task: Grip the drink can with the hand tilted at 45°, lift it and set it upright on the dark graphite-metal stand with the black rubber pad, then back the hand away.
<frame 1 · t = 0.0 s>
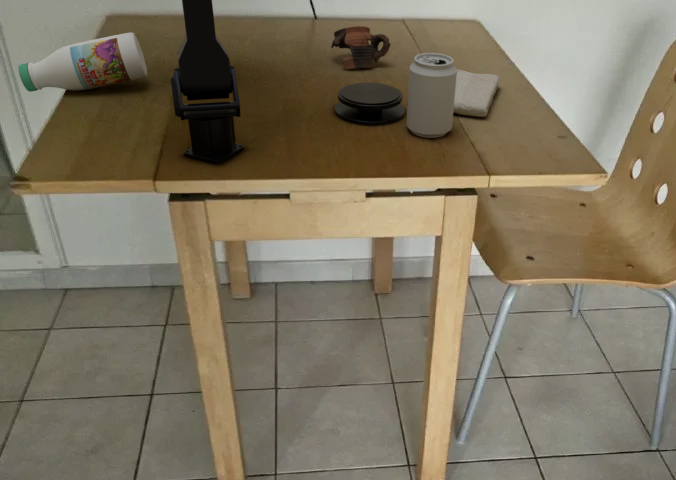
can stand: (369, 111, 123), on the table
milk bottle: (142, 54, 125), point 6 cm above the table
washcloth: (461, 100, 130), on the table
pottery mug: (360, 64, 144), on the table
can: (428, 131, 117), on the table
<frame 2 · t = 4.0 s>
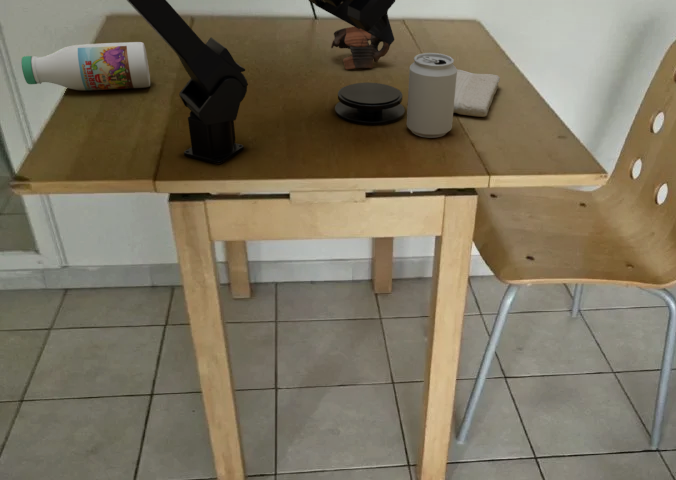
hand: (376, 34, 112), 14 cm above the table, tool tilted 40°, fingers open, 9 cm apart
milk bottle: (148, 64, 126), point 4 cm above the table
everything else where it was.
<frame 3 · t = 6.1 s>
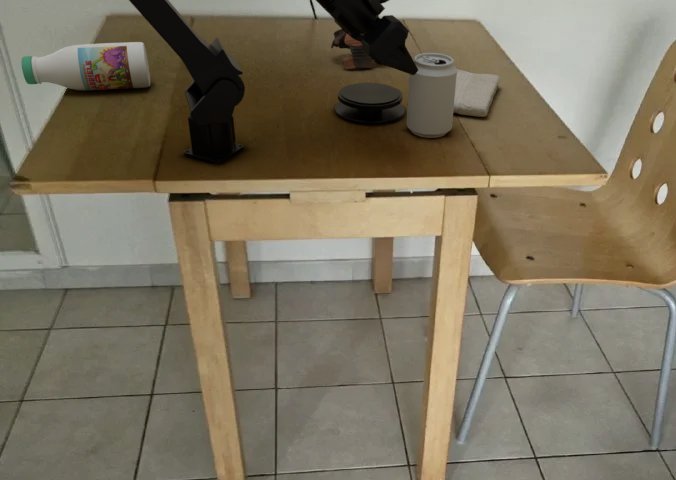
hand: (405, 62, 109), 12 cm above the table, tool tilted 45°, fingers open, 9 cm apart
nothing on the table moved.
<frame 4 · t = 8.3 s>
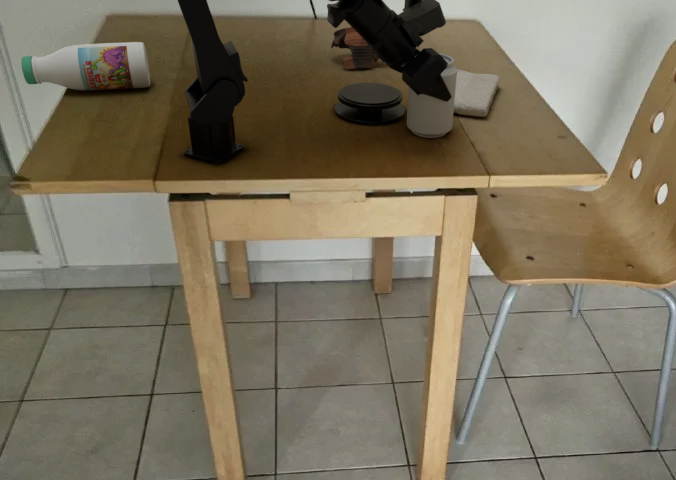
hand: (439, 90, 114), 7 cm above the table, tool tilted 45°, fingers closed on can, 7 cm apart
can: (428, 131, 117), on the table, touching gripper
everything else where it was.
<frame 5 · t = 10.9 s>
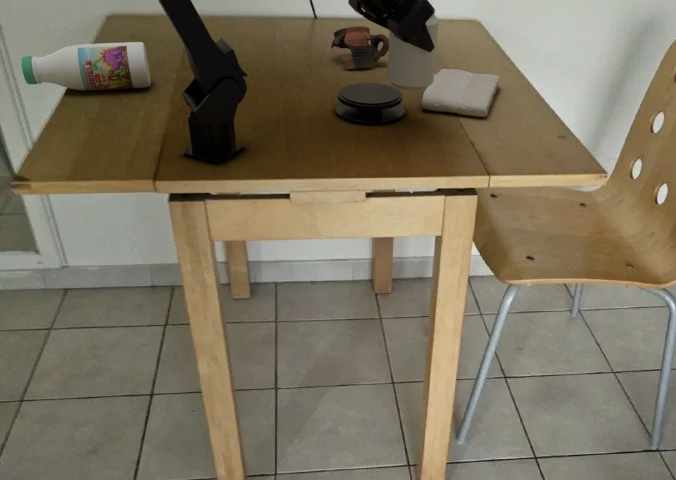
hand: (420, 42, 113), 13 cm above the table, tool tilted 45°, fingers closed on can, 7 cm apart
can: (409, 85, 116), point 6 cm above the table, touching gripper
everything else where it was.
when the fingers open (10 cm above the table, at t = 13.6 s): can stays where it is, resting on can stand.
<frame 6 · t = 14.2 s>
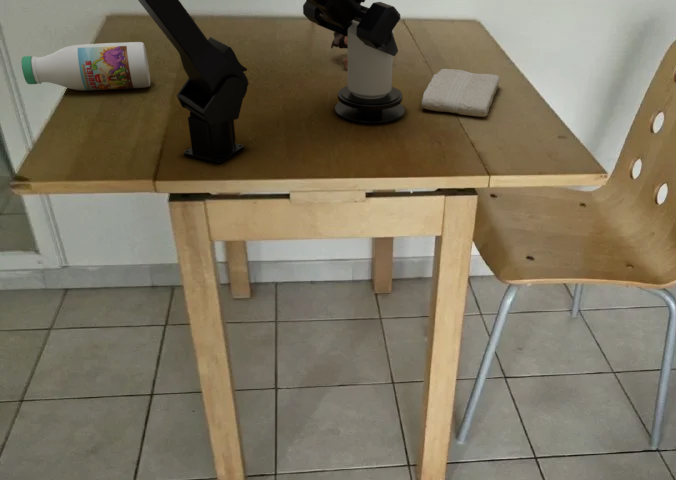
hand: (378, 46, 117), 11 cm above the table, tool tilted 45°, fingers open, 9 cm apart
can: (369, 93, 121), point 3 cm above the table, touching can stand
everything else where it was.
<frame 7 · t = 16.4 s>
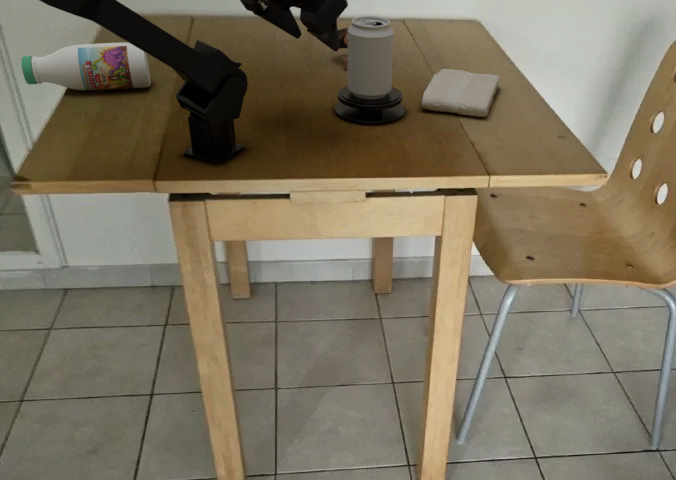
hand: (318, 42, 111), 13 cm above the table, tool tilted 35°, fingers open, 9 cm apart
nothing on the table moved.
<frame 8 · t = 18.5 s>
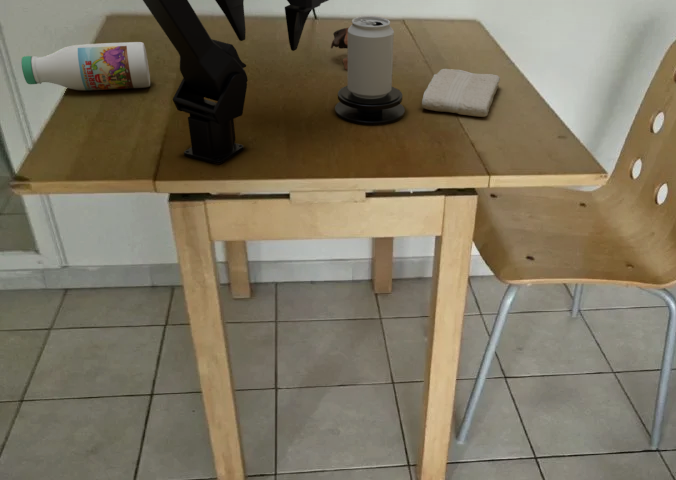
hand: (267, 45, 109), 13 cm above the table, tool pointing down, fingers open, 9 cm apart
nothing on the table moved.
at the end: can 0.1 cm off-centre on the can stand, point 3.2 cm above the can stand's base; can tilted 0°; the gripper is holding nothing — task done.
